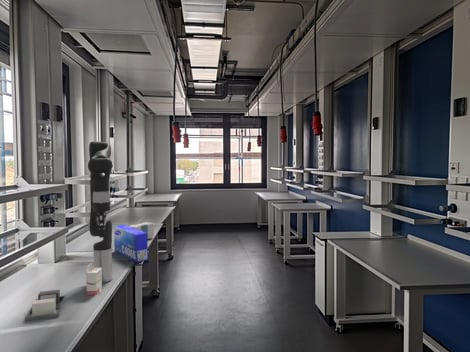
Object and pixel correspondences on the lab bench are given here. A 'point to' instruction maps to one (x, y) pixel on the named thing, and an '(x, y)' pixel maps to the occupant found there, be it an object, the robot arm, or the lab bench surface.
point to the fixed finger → (50, 295)
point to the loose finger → (43, 307)
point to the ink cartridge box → (93, 280)
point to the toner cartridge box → (131, 243)
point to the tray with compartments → (46, 316)
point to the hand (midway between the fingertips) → (102, 235)
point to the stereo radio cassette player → (145, 228)
